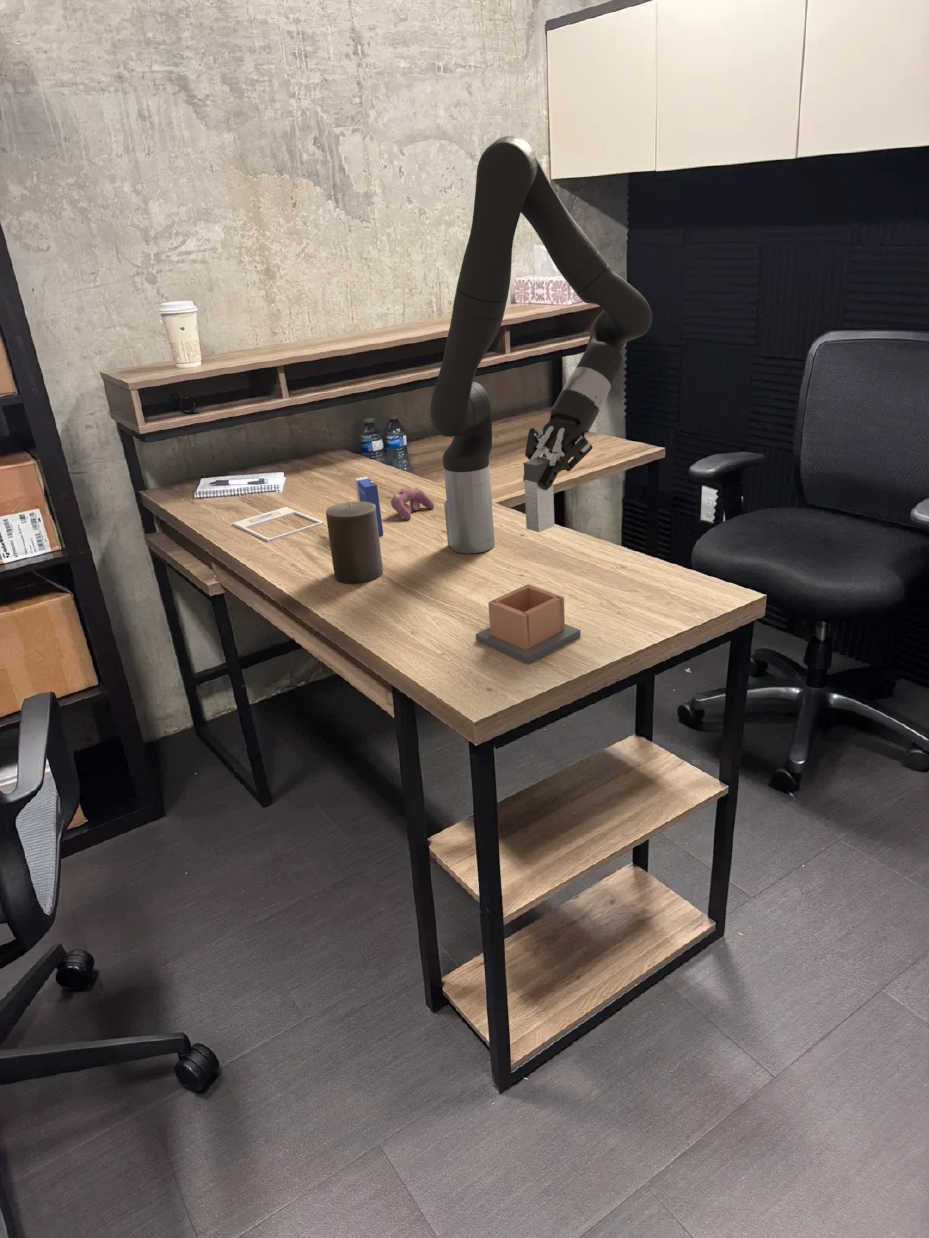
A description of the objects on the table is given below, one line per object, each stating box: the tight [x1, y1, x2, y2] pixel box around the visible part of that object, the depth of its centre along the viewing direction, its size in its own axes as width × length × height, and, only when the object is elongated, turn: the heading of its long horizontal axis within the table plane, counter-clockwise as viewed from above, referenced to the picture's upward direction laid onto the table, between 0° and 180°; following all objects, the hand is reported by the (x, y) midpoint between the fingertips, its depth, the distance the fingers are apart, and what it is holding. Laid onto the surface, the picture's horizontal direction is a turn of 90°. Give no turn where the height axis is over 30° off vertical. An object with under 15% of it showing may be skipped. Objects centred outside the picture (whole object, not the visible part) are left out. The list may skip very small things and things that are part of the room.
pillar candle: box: [325, 500, 384, 585], centre depth 162 cm, size 10×10×15 cm
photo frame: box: [231, 506, 325, 543], centre depth 197 cm, size 15×1×18 cm
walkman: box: [354, 476, 384, 537], centre depth 185 cm, size 8×3×12 cm, turn 23°
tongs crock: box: [475, 583, 582, 665], centre depth 134 cm, size 12×12×7 cm
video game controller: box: [390, 486, 435, 521], centre depth 196 cm, size 10×5×7 cm, turn 142°
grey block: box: [523, 456, 555, 533], centre depth 145 cm, size 3×4×12 cm
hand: (534, 485), depth 144 cm, fingers closed on grey block, 3 cm apart
